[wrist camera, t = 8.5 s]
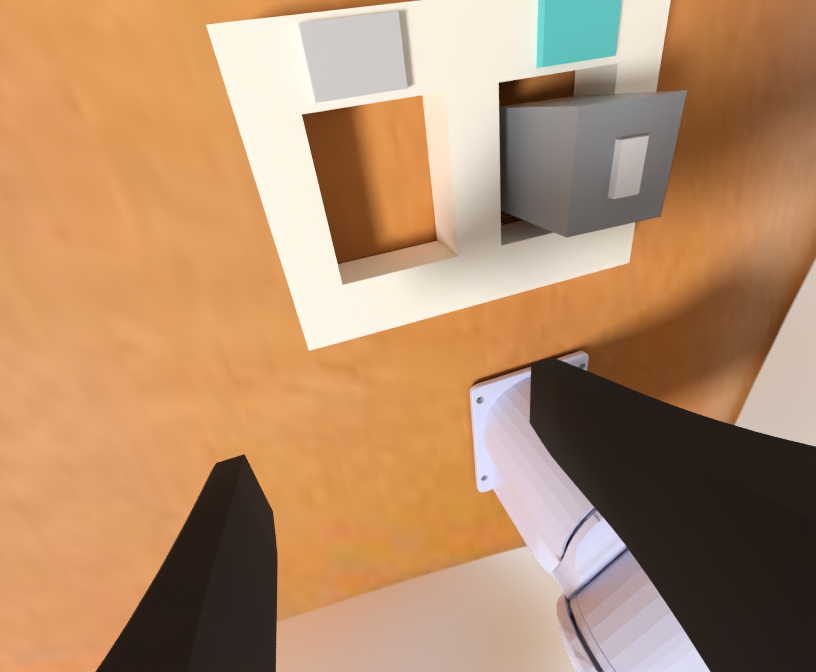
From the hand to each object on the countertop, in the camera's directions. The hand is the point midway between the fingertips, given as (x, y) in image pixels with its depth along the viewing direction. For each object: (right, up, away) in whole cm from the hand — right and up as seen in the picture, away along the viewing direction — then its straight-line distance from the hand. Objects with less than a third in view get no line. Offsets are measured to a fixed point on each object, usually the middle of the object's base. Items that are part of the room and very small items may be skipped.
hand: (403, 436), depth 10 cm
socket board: (+2, +10, +8) cm, 13 cm away
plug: (+5, +11, +8) cm, 15 cm away
